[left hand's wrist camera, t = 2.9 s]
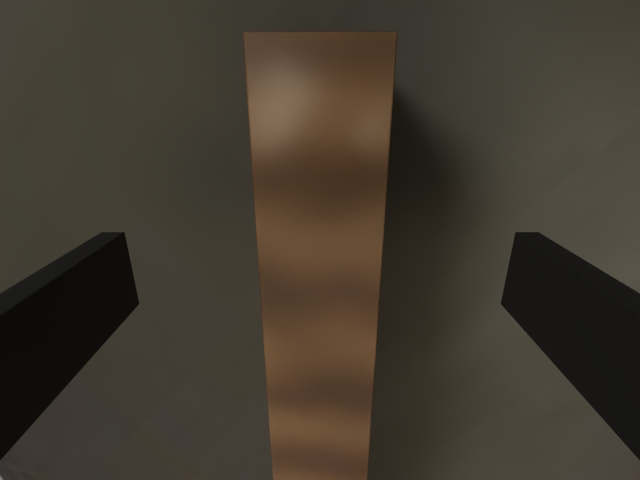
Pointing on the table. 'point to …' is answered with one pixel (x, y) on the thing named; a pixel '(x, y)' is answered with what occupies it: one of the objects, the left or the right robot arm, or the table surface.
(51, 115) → the table surface
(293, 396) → the beam
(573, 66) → the table surface
